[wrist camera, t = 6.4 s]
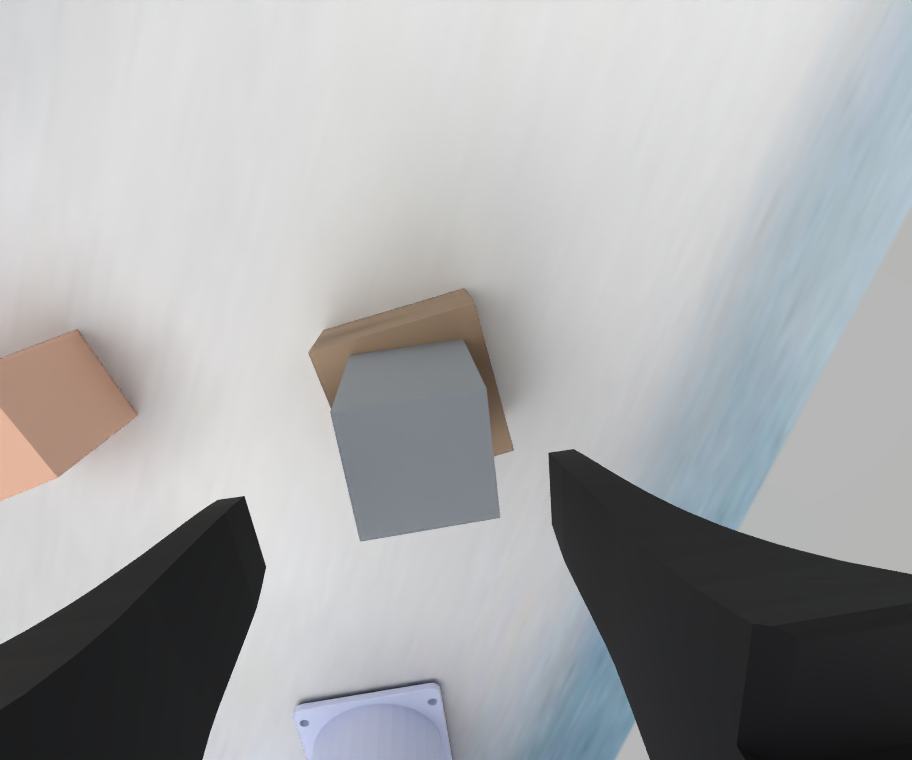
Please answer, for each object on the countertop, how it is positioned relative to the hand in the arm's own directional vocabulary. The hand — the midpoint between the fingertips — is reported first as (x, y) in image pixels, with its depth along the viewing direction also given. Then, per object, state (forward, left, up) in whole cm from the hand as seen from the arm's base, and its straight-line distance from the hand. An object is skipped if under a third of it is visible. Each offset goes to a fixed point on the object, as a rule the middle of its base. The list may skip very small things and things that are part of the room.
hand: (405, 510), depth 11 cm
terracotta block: (+1, +14, -10) cm, 17 cm away
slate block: (0, 0, -7) cm, 7 cm away
